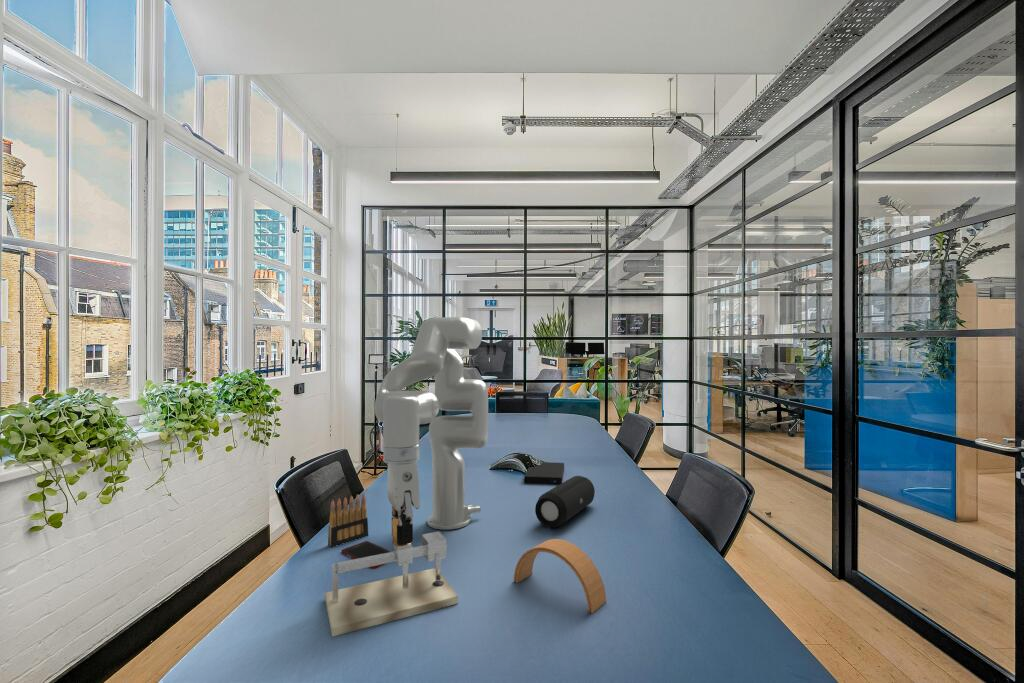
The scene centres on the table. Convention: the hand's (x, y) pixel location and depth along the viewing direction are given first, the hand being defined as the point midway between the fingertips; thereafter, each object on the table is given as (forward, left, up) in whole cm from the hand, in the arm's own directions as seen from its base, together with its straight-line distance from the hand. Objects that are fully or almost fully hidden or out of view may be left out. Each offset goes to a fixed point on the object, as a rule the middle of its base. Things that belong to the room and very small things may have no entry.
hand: (402, 538), depth 101 cm
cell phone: (+3, -22, -12) cm, 25 cm away
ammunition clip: (+6, -34, -12) cm, 37 cm away
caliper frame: (+2, 0, -10) cm, 10 cm away
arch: (-30, +15, -12) cm, 35 cm away
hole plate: (+3, +2, -11) cm, 12 cm away
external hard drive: (-73, -64, -12) cm, 98 cm away
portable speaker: (-56, -22, -12) cm, 61 cm away
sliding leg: (0, +1, -9) cm, 10 cm away
